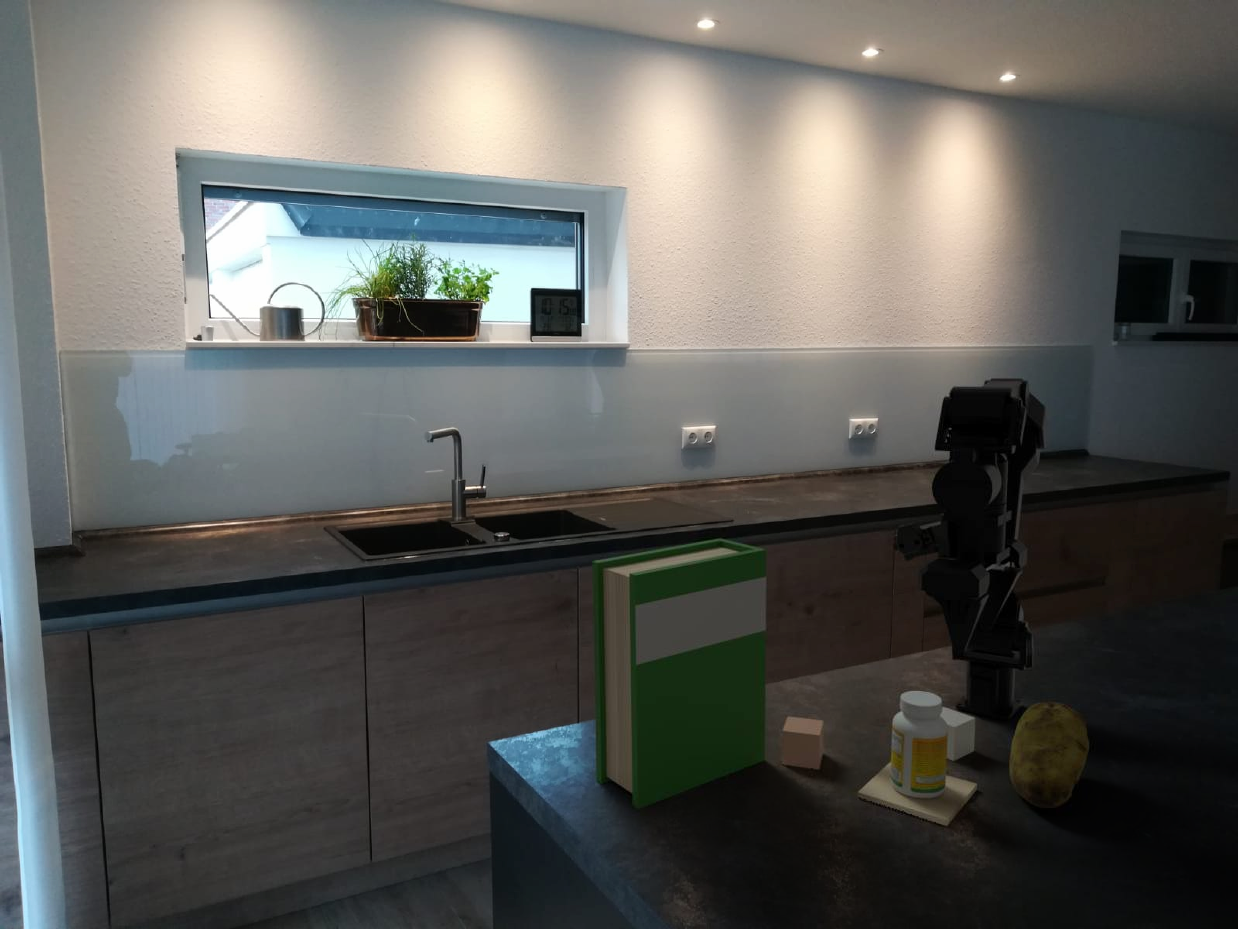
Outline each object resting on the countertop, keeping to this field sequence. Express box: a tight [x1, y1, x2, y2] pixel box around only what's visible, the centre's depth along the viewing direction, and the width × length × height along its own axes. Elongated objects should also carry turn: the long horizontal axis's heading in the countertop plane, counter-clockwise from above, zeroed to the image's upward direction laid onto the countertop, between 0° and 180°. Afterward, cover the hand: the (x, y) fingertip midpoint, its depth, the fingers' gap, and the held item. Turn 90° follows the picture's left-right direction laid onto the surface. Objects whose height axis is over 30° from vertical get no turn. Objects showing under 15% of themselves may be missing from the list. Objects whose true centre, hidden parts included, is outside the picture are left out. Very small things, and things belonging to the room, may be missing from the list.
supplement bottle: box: [890, 690, 948, 799], centre depth 91 cm, size 5×5×10 cm
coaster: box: [857, 761, 978, 827], centre depth 91 cm, size 9×9×1 cm
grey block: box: [940, 706, 976, 762], centre depth 101 cm, size 4×4×4 cm
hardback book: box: [592, 538, 767, 810], centre depth 96 cm, size 18×7×24 cm, turn 125°
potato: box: [1008, 701, 1090, 810], centre depth 92 cm, size 8×13×8 cm, turn 132°
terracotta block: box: [781, 716, 825, 770], centre depth 99 cm, size 4×4×4 cm
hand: (972, 640), depth 99 cm, fingers open, 9 cm apart
